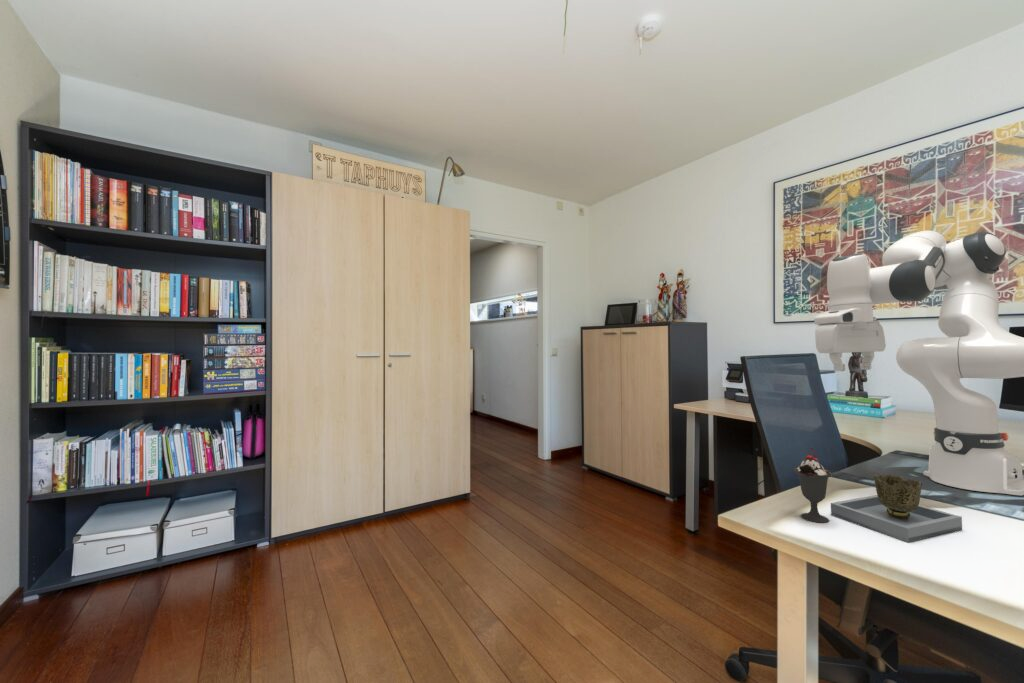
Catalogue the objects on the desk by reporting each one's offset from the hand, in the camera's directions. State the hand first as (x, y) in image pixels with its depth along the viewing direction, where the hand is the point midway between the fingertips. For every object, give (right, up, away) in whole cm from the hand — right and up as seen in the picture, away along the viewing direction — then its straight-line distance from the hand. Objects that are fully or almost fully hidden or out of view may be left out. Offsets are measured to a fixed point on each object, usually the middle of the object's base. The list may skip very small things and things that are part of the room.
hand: (852, 370), depth 105 cm
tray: (-7, -31, -19) cm, 37 cm away
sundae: (-22, -31, -16) cm, 41 cm away
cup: (-6, -30, -18) cm, 36 cm away
